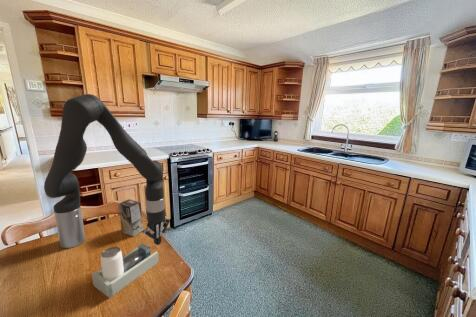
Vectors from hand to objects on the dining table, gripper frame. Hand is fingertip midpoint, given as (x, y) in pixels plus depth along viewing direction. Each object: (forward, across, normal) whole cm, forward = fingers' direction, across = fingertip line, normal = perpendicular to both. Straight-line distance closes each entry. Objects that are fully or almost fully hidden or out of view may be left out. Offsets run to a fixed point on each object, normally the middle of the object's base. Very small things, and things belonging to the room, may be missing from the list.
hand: (158, 243), depth 90 cm
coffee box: (+5, +4, +25) cm, 25 cm away
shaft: (+3, -11, 0) cm, 12 cm away
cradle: (+4, -14, 0) cm, 15 cm away
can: (+3, -20, -1) cm, 20 cm away
